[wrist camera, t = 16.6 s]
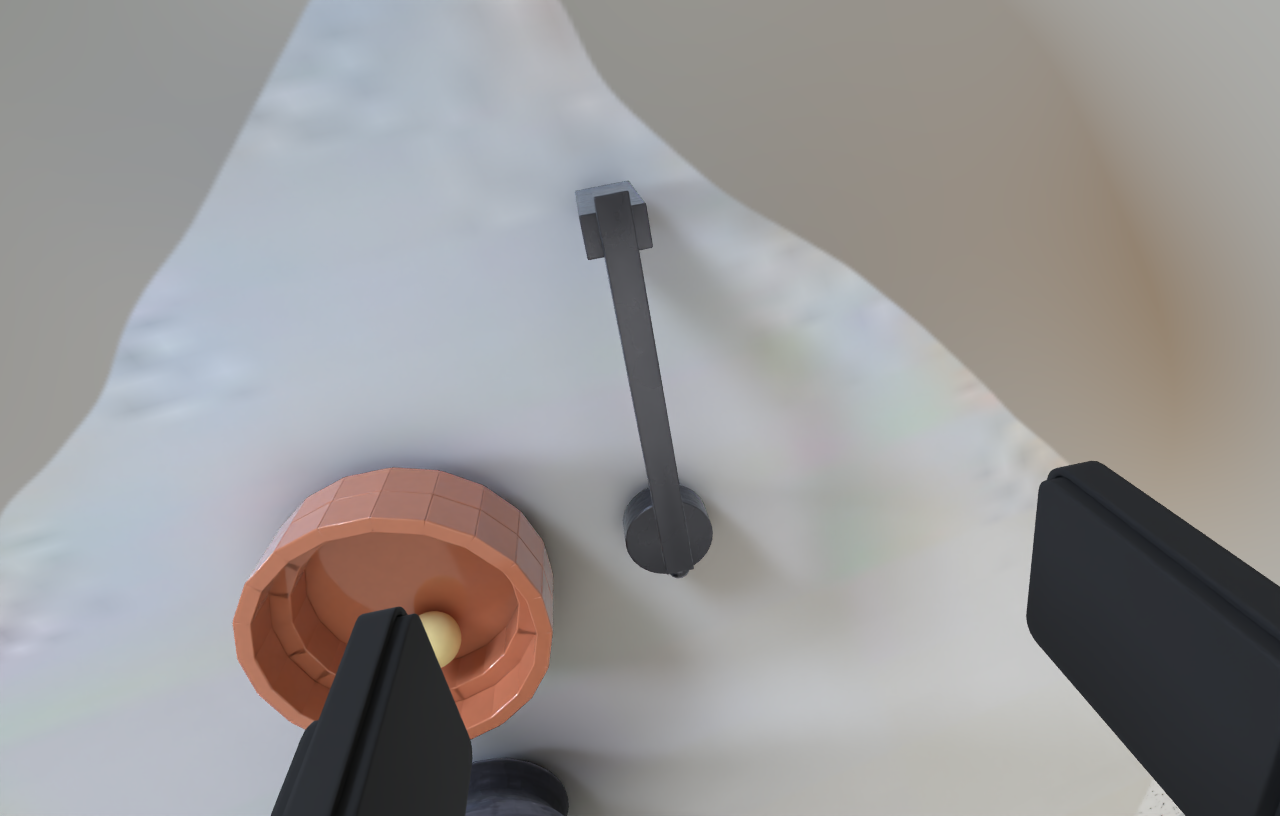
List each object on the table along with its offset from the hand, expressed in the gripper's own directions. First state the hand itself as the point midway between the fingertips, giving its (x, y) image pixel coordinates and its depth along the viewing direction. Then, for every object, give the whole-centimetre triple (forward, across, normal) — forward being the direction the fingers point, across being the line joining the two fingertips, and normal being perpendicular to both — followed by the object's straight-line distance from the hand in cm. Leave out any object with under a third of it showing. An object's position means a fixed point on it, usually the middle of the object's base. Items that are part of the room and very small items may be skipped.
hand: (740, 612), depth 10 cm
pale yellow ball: (+21, +14, +18) cm, 31 cm away
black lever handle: (+23, 0, +6) cm, 24 cm away
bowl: (+23, +14, +15) cm, 31 cm away
